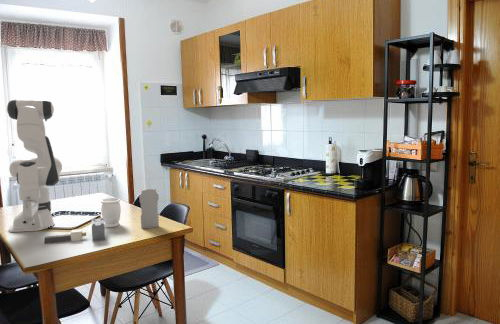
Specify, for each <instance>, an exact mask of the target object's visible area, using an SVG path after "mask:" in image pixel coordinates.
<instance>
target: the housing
mask: <svg viewBox="0 0 500 324" xmlns="http://www.w3.org/2000/svg"><path fill="white" fill-rule="evenodd" d="M104 224H105V222H104V218H103V217H101V218H92V219H91V239H92V241H91V242H98V241H99V242H100V241H105V240H106V234H105V233H106V232H105V228H106V227H105V226H104Z"/></svg>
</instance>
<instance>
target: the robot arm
mask: <svg viewBox="0 0 500 324" xmlns="http://www.w3.org/2000/svg"><path fill="white" fill-rule="evenodd" d="M6 112H7V115H8V116H9V117H10V118H11V120H15V121H16V133H17V138H18V139H19V140H20V141H21V142H22V143H23V147H24V149H25V150H26V151H28V152H30V153H33V154H35V155H36V156H37V157H36V158H35V157H34V158H21V159H17V160H12V162H11V163H10V165H9V167H8V168H9V173H10V175H11V176H12V177H13V178H14V179H15V180H16V183H17V184H18V185H19V188H18V196H19V197H18V198H19V200H20V201H22V211H21V212H20V213H19V214H17V215H16V216H14V219H13V222H12V225H11V226H9V227H8V232H9V233H16V232H17V233H18V232H19V233H20V232H36V231H38V232H39V231H42V230H45V229H49V228H51V227H50V226H52V227H54V226H55V225H54V224H55V222H54V220H53V215H52V203H51V200H50V198H51V197H50V188H49V187H53V186H55V185H57V184H58V183H59V182H60V178H61V177H60V174H61V173H62V170H63V164H62V162H61V161H60V159H59V158H57V157H55V155H54V153H53V152H54V151H53V148H52V145H51V140H50V138H49V137H48V136H47V134H46V128H45V126H46V125H45V122H48V120H49V119H51V118H52V117H53V114H54V112H55V108H54V105H53V103H52V102H51V101H50V100H49V99H36V98H30V99H12V100H9V101H8V103H7V106H6ZM44 120H45V122H44ZM53 225H54V226H53ZM48 227H49V228H48Z"/></svg>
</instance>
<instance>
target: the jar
mask: <svg viewBox="0 0 500 324" xmlns="http://www.w3.org/2000/svg"><path fill="white" fill-rule="evenodd" d="M100 203H101V209H100V211H101V216H102V217H101V218H104V226H105V228H115V227H118V226H120V222H119V221H120V220H121V212H122V211H121V209H122V208H121V199H120V198H117V197H113V198H112V197H110V198H109V197H108V198H104V199H100Z"/></svg>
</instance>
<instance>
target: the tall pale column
mask: <svg viewBox="0 0 500 324" xmlns="http://www.w3.org/2000/svg"><path fill="white" fill-rule="evenodd" d="M159 197H160V196H159V194H158V192H157V190H156V189H154V188H147V189H142V190H141V192H140V195H139V196H138V198H139V200H138V201H139V203H140V211H141V212H140V213H141V214H140V228H141V229H143V230H145V229H153V228H157V227H160V223H159V222H160V221H159V212H158V211H159V210H158V208H159V207H158V206H159V202H158V201H159V199H160V198H159Z"/></svg>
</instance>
